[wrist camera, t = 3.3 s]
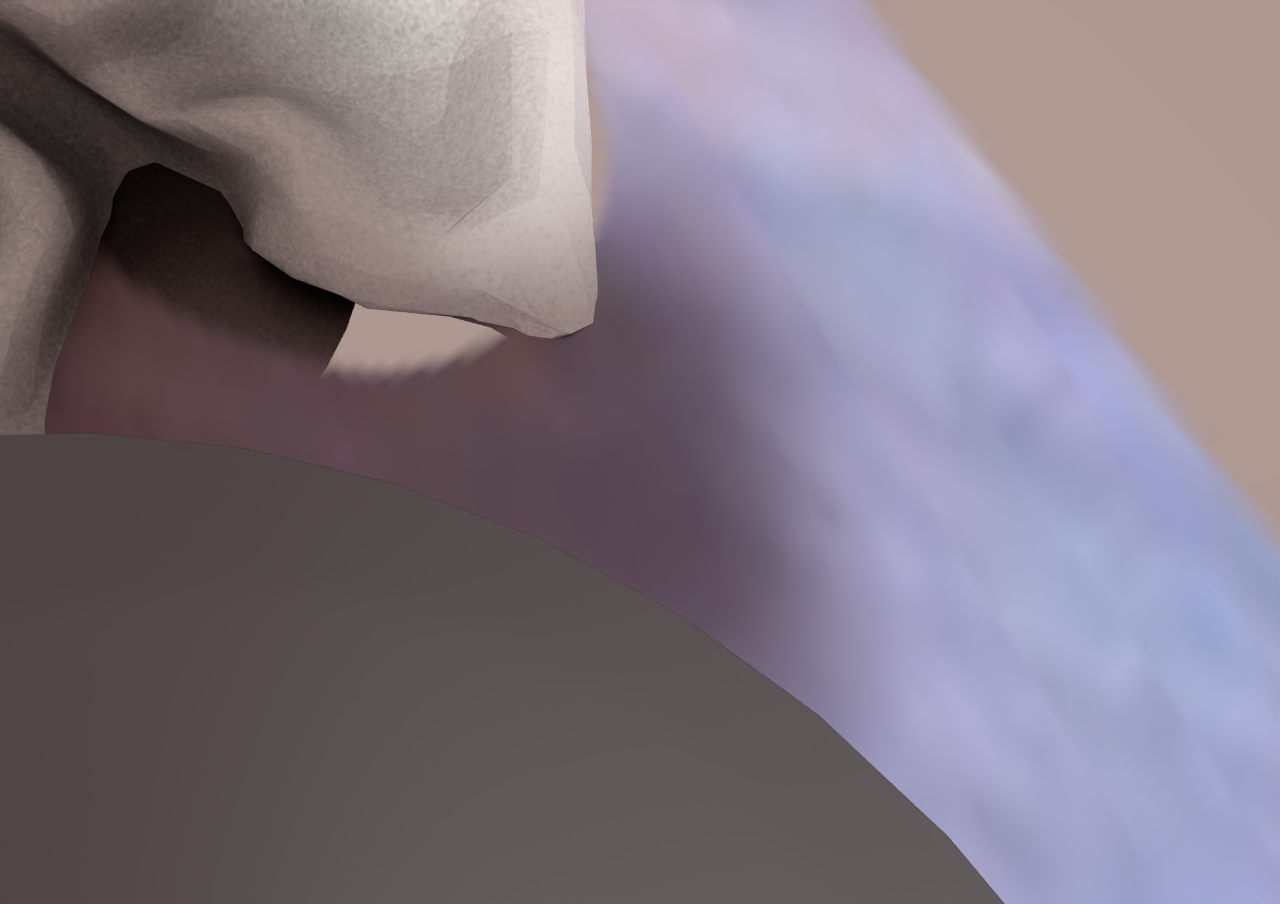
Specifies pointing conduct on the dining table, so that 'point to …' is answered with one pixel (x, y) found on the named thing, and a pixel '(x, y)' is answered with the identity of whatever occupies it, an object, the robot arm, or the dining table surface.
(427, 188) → the cloth
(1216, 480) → the dining table surface
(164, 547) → the shaker
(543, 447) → the dining table surface
